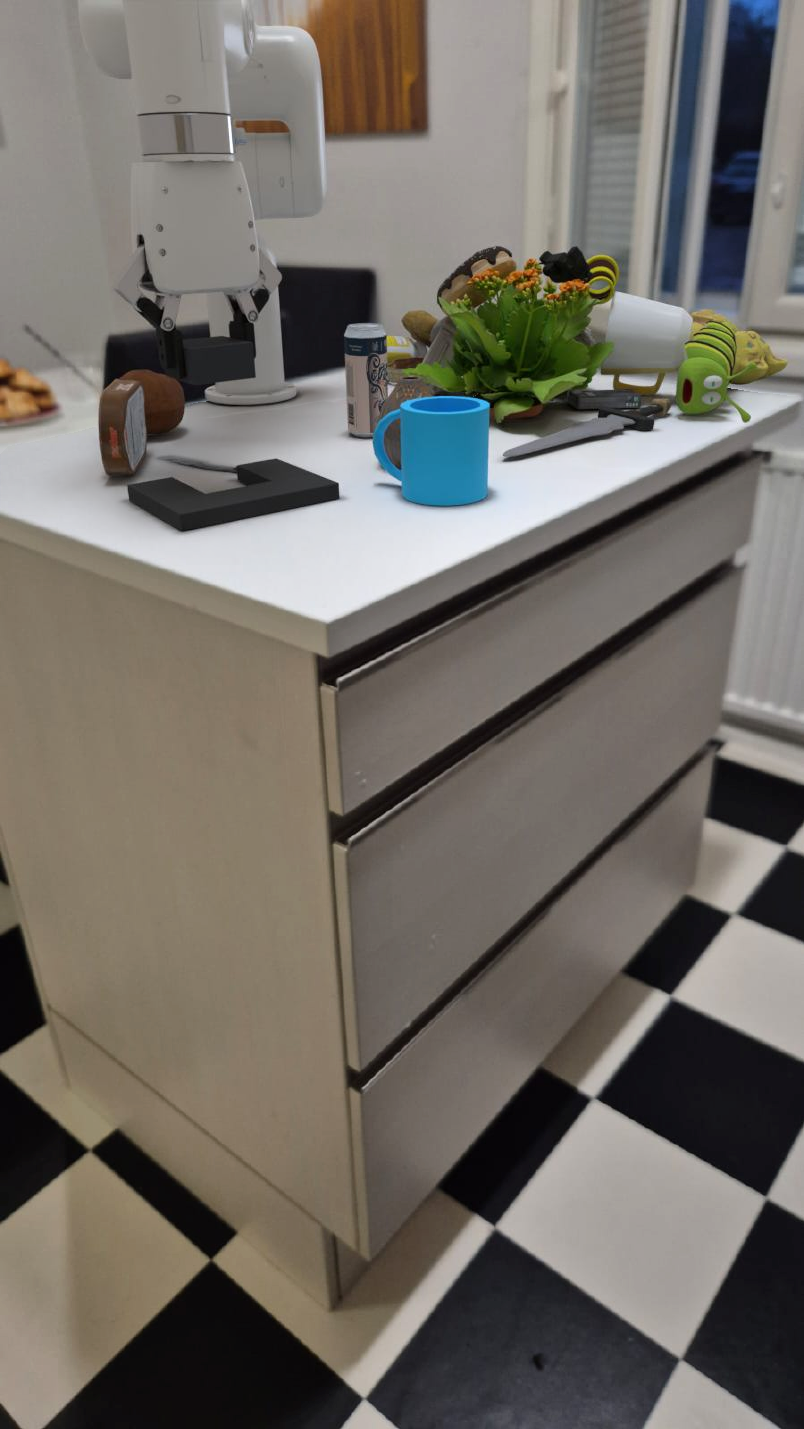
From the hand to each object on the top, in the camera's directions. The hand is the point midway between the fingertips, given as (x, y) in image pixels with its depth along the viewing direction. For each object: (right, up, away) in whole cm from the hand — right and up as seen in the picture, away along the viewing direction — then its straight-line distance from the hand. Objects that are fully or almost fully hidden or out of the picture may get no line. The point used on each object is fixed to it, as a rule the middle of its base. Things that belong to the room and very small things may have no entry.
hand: (210, 370), depth 89 cm
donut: (+28, +22, +37) cm, 51 cm away
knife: (-2, -5, +15) cm, 16 cm away
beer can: (+13, +2, +27) cm, 30 cm away
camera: (+22, +16, +51) cm, 57 cm away
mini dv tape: (+44, +9, +36) cm, 58 cm away
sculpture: (+24, +25, +57) cm, 67 cm away
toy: (+55, +16, +39) cm, 70 cm away
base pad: (+1, -11, +4) cm, 12 cm away
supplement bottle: (+11, +23, +59) cm, 64 cm away
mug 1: (+20, -10, +5) cm, 23 cm away
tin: (-11, -5, +15) cm, 20 cm away
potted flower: (+30, +7, +37) cm, 48 cm away
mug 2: (+55, +16, +39) cm, 69 cm away
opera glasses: (+39, +23, +36) cm, 58 cm away
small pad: (0, 0, 0) cm, 1 cm away
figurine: (+58, +23, +55) cm, 83 cm away
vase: (+18, -5, +14) cm, 24 cm away
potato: (-13, +2, +28) cm, 31 cm away
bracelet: (+19, +18, +57) cm, 63 cm away
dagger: (+45, +9, +36) cm, 59 cm away
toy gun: (+35, +26, +32) cm, 54 cm away
